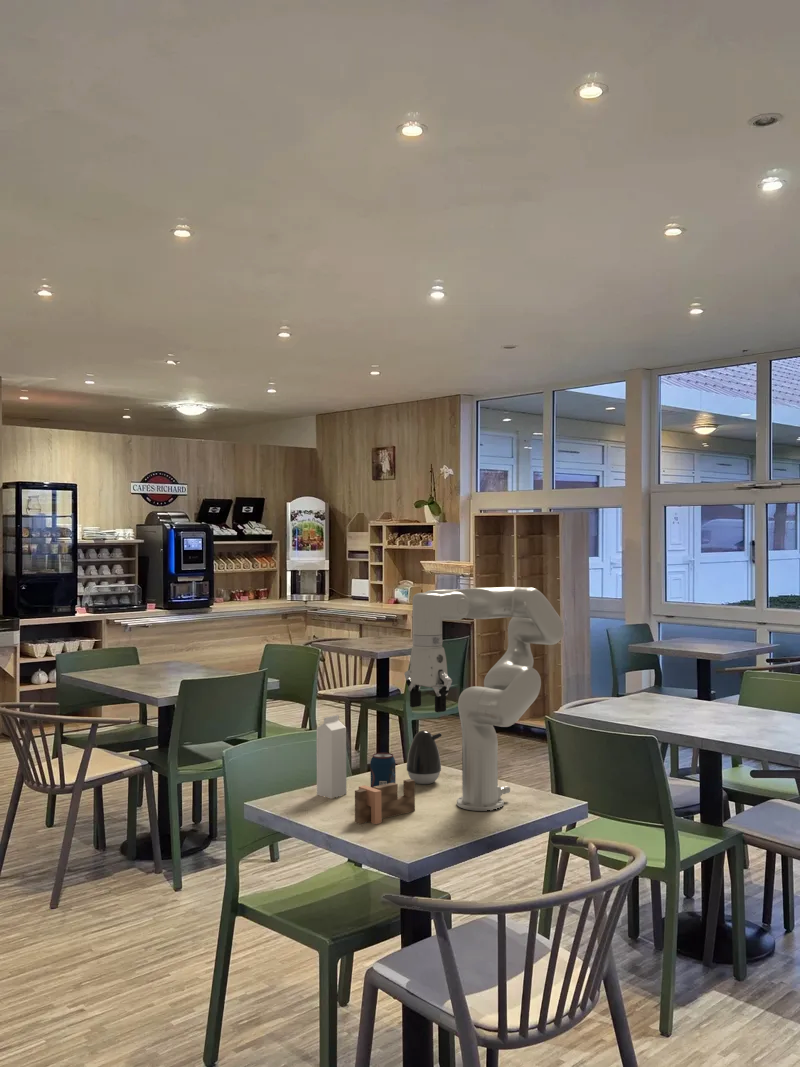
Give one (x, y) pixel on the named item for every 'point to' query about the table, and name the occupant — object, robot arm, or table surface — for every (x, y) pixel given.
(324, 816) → the table surface
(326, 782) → the milk
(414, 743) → the pump dispenser
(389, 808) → the walnut e-shaped block
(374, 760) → the soda can
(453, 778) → the table surface
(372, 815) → the slotted plate
